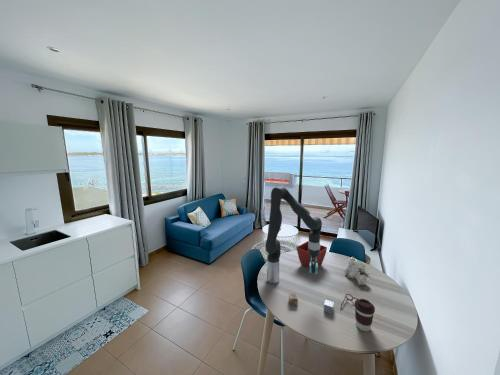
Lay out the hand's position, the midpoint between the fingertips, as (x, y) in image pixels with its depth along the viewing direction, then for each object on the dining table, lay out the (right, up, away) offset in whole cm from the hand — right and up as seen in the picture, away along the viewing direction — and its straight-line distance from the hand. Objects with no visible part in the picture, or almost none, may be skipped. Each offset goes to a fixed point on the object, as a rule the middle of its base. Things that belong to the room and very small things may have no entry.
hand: (313, 270), depth 137 cm
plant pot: (+11, -13, +42) cm, 46 cm away
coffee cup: (+21, -23, -22) cm, 38 cm away
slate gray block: (+7, -21, -9) cm, 24 cm away
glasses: (+23, -21, -8) cm, 32 cm away
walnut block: (-14, -21, -2) cm, 25 cm away
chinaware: (+42, -15, +24) cm, 50 cm away
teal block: (0, -1, 0) cm, 0 cm away
